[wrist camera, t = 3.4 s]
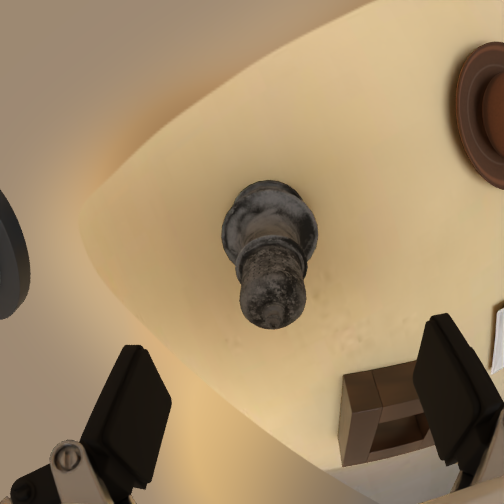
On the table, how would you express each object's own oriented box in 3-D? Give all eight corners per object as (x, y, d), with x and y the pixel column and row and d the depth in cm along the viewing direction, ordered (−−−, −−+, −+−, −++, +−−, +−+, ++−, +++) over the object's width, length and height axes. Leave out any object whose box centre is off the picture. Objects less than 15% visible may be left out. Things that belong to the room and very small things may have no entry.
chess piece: (210, 218, 23) (166, 327, 12) (267, 158, 21) (274, 223, 10) (269, 268, 24) (272, 395, 14) (327, 216, 22) (379, 323, 12)
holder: (337, 435, 35) (342, 467, 31) (343, 374, 30) (352, 413, 25) (427, 415, 34) (437, 443, 30) (453, 350, 28) (471, 382, 24)
